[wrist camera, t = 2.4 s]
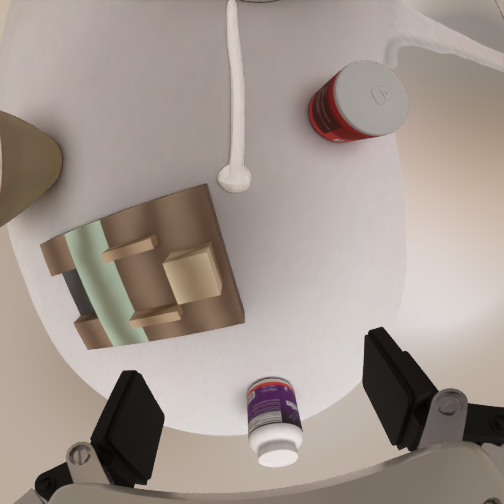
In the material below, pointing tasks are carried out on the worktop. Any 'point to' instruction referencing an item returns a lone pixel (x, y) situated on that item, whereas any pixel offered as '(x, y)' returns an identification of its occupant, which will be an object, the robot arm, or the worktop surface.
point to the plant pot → (24, 165)
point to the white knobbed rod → (235, 110)
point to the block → (193, 273)
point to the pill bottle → (274, 422)
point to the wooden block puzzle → (142, 272)
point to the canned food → (359, 103)
